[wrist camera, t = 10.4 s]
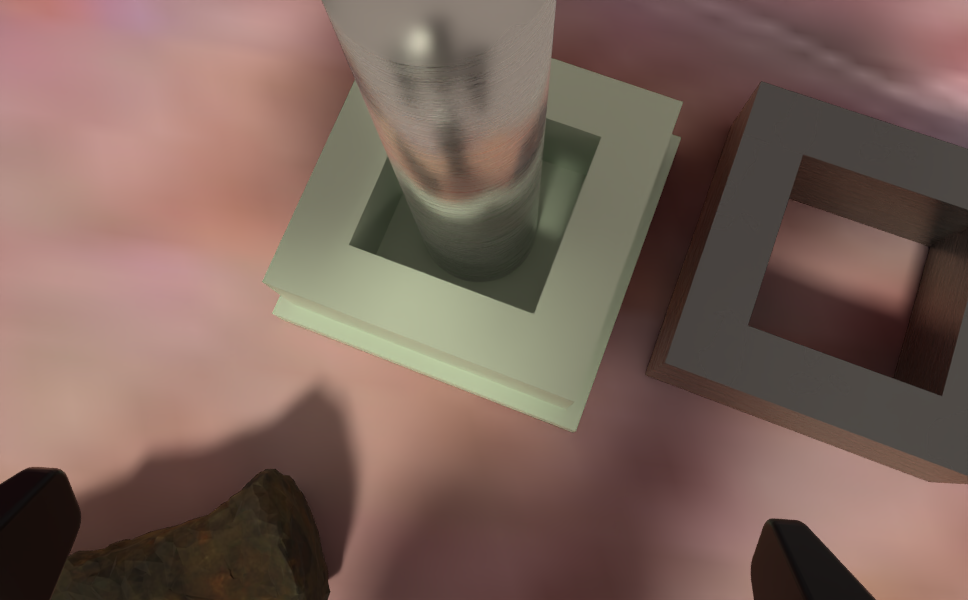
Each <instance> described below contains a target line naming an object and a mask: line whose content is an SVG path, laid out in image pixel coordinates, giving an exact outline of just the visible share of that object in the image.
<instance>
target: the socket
mask: <svg viewBox="0 0 968 600" xmlns="http://www.w3.org/2000/svg"><path fill="white" fill-rule="evenodd" d="M789 198H790V199H793V200H796V201H799V202H801V203H804V204H807V205H810V206H813V207H816V208H819V209H822V210H825V211H828V212H831V213H834V214H836V215H839V216H842V217H845V218H848V219H851V220H854V221H857V222H860V223H863V224H866V225H868V226H871V227H874V228H877V229H880V230H883V231H886V232H889V233H892V234H895V235H898V236H900V237H903V238H906V239H909V240H912V241H915V242H918V243H921V244H924V245H927V246H930V250H929V253H928V257H927V261H926V264H925V268H924V271H923V275H922V278H921V282H920V286H919V289H918V293H917V296H916V300H915V304H914V307H913V311H912V314H911V318H910V321H909V325H908V329H907V332H906V336H905V339H904V343H903V346H902V350H901V354H900V357H899V361H898V364H897V368H896V372H895V375H894V379H893V378H890V377H888V376H885V375H882V374H879V373H877V372H874V371H871V370H868V369H866V368H863V367H860V366H857V365H855V364H852V363H849V362H846V361H844V360H841V359H838V358H835V357H833V356H830V355H827V354H824V353H822V352H819V351H816V350H813V349H811V348H808V347H805V346H802V345H800V344H797V343H794V342H791V341H789V340H786V339H783V338H780V337H778V336H775V335H772V334H769V333H767V332H764V331H761V330H758V329H756V328H753V327H750V326H748V323H749V320H750V317H751V314H752V311H753V308H754V305H755V302H756V299H757V296H758V293H759V289H760V286H761V283H762V280H763V277H764V274H765V271H766V268H767V265H768V262H769V258H770V255H771V252H772V249H773V246H774V243H775V240H776V237H777V234H778V231H779V227H780V224H781V221H782V218H783V215H784V212H785V209H786V206H787V203H788V200H789ZM645 375H647V376H649V377H652V378H655V379H657V380H660V381H663V382H665V383H668V384H671V385H673V386H676V387H679V388H681V389H684V390H687V391H689V392H692V393H695V394H697V395H700V396H703V397H705V398H708V399H710V400H713V401H716V402H718V403H721V404H724V405H726V406H729V407H732V408H734V409H737V410H740V411H742V412H745V413H748V414H750V415H753V416H756V417H758V418H761V419H764V420H766V421H769V422H772V423H774V424H777V425H780V426H782V427H785V428H787V429H790V430H793V431H795V432H798V433H801V434H803V435H806V436H809V437H811V438H814V439H817V440H819V441H822V442H825V443H827V444H830V445H833V446H835V447H838V448H841V449H843V450H846V451H849V452H851V453H854V454H857V455H859V456H862V457H864V458H867V459H870V460H872V461H875V462H878V463H880V464H883V465H886V466H888V467H891V468H894V469H896V470H899V471H902V472H904V473H907V474H910V475H912V476H915V477H918V478H920V479H923V480H926V481H928V482H938V483H956V484H968V149H966V148H963V147H960V146H957V145H954V144H951V143H948V142H945V141H942V140H939V139H936V138H933V137H930V136H927V135H923V134H920V133H917V132H914V131H911V130H908V129H905V128H902V127H899V126H896V125H893V124H890V123H887V122H884V121H881V120H878V119H875V118H872V117H869V116H866V115H863V114H859V113H856V112H853V111H850V110H847V109H844V108H841V107H838V106H835V105H832V104H829V103H826V102H823V101H820V100H817V99H814V98H811V97H808V96H805V95H802V94H798V93H795V92H792V91H789V90H786V89H783V88H780V87H777V86H774V85H771V84H768V83H765V82H762V81H761V82H760V84H759V85H758V87H757V88H756V90H755V91H754V93H753V94H752V96H751V97H750V99H749V100H748V101H747V103H746V104H745V106H744V107H743V109H742V110H741V112H740V113H739V115H738V116H737V118H736V119H735V121H734V122H733V124H732V125H731V128H730V131H729V134H728V136H727V139H726V142H725V145H724V148H723V151H722V154H721V157H720V160H719V162H718V165H717V168H716V171H715V174H714V177H713V180H712V183H711V186H710V188H709V191H708V194H707V197H706V200H705V203H704V206H703V209H702V212H701V214H700V217H699V220H698V223H697V226H696V229H695V232H694V235H693V238H692V240H691V243H690V246H689V249H688V252H687V255H686V258H685V261H684V264H683V266H682V269H681V272H680V275H679V278H678V281H677V284H676V287H675V290H674V292H673V295H672V298H671V301H670V304H669V307H668V310H667V313H666V316H665V319H664V321H663V324H662V327H661V330H660V333H659V336H658V339H657V342H656V345H655V347H654V350H653V353H652V356H651V359H650V362H649V365H648V368H647V371H646V373H645Z"/></svg>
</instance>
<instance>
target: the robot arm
mask: <svg viewBox="0 0 968 600" xmlns="http://www.w3.org/2000/svg"><path fill="white" fill-rule="evenodd" d="M80 523H81V511H80V508H79V505H78V503H77V500H76V498H75V495H74V492H73V490H72V487H71V485H70V482H69V480H68V477H67V475H66V473H64V472H63V471H62V470H61V469H57V468H45V467H30V468H27V469H24V470H23V471H21V472H19V473H17V474H16V475H14V476H13V477H11V478H9V479H8V480H6V481H5V482H3V483H1V484H0V600H50V599H51V597H52V594H53V592H54V589H55V587H56V585H57V582H58V580H59V577H60V575H61V572H62V570H63V568H64V565H65V563H66V560H67V558H68V555H69V553H70V550H71V548H72V546H73V543H74V541H75V538H76V536H77V533H78V531H79V528H80ZM751 582H752V589H753V596H754V600H876V599H875V598H874V597H873V596H872V595H871V594H870V593H869V592H868V591H867V590H866V588H865V587H864V586H863V585H862V584H861V583H860V582H859V581H858V580H857V579H856V578H855V577H854V576H853V575H852V574H851V572H850V571H849V570H848V569H847V568H846V567H845V566H844V565H843V564H842V563H841V562H840V561H839V560H838V559H837V557H836V556H835V555H834V554H833V553H832V552H831V551H830V550H829V549H828V548H827V547H826V546H825V545H824V544H823V543H822V541H821V540H820V539H819V538H818V537H817V536H816V535H815V534H814V533H813V532H812V531H811V530H810V529H809V528H808V527H807V526H806V525H805V524H804V523H802V522H800V521H797V520H787V519H769V520H767V521H766V523H765V524H764V526H763V529H762V532H761V535H760V538H759V541H758V544H757V547H756V550H755V552H754V555H753V558H752V563H751Z"/></svg>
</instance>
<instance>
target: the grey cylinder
mask: <svg viewBox="0 0 968 600" xmlns="http://www.w3.org/2000/svg"><path fill="white" fill-rule="evenodd" d="M322 2H323V4H324V7H325V9H326V12H327V14H328V16H329V19H330V21H331V23H332V26H333V28H334V30H335V33H336V35H337V37H338V40H339V42H340V45H341V47H342V49H343V52H344V54H345V56H346V59H347V61H348V63H349V66H350V68H351V71H352V73H353V75H354V78H355V80H356V82H357V85H358V87H359V89H360V92H361V94H362V97H363V99H364V101H365V104H366V106H367V108H368V111H369V113H370V115H371V118H372V120H373V123H374V125H375V127H376V130H377V132H378V134H379V137H380V139H381V141H382V144H383V146H384V149H385V151H386V153H387V156H388V158H389V160H390V163H391V165H392V167H393V170H394V172H395V175H396V177H397V179H398V182H399V184H400V186H401V189H402V191H403V193H404V196H405V198H406V201H407V203H408V205H409V208H410V210H411V212H412V215H413V217H414V219H415V222H416V224H417V227H418V229H419V231H420V234H421V236H422V238H423V241H424V243H425V245H426V248H427V250H428V252H429V254H430V256H431V257H432V259H433V260H434V261H435V262H436V264H437V265H438V266H439V267H440V268H441V269H443V270H444V271H445V272H447V273H448V274H450V275H452V276H454V277H456V278H459V279H462V280H465V281H470V282H487V281H493V280H496V279H499V278H502V277H504V276H506V275H508V274H510V273H511V272H513V271H514V270H515V269H517V268H518V267H519V266H520V265H521V264H522V263H523V262H524V261H525V259H526V258H527V256H528V255H529V253H530V251H531V249H532V247H533V244H534V241H535V237H536V229H537V217H538V206H539V194H540V183H541V171H542V160H543V148H544V136H545V125H546V113H547V102H548V90H549V79H550V67H551V55H552V44H553V32H554V21H555V9H556V0H322Z"/></svg>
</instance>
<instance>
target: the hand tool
mask: <svg viewBox="0 0 968 600" xmlns="http://www.w3.org/2000/svg"><path fill="white" fill-rule="evenodd" d="M329 594H330V589H329V585H328V569H327V566H326V563H325V560H324V556H323V552H322V548H321V543H320V538H319V533H318V530H317V527H316V524H315V521H314V518H313V515H312V513H311V511H310V509H309V506H308V504H307V502H306V500H305V498H304V496H303V494H302V492H300V490H299V489H298V487H297V485H296V484H295V482H294V480H293V479H292V478H291V477H290V476H287V475H282V474H281V473H280V472H278V471H277V470H276V469H265V470H264V471H263V472H260V473H259V474H257V475H256V476H255V477H254V478H253V479H252V480H251V481H250V482H249V483H248V484H247V485H246V486H245V487H244V488H243V489H242V490H241V491H240V492H239V493H237V494H235V495H234V496H232V497H231V498H230V499H229V500H228V501H227V502H225V503H223V504H222V505H220V506H219V507H218V508H217V509H215V510H214V511H213V512H211V513H210V514H209V515H206V516H203V517H199V518H196V519H193V520H190V521H187V522H185V523H183V524H181V525H177V526H173V527H167V528H165V529H161V530H156V531H152V532H149V533H146V534H144V535H142V536H139V537H137V538H135V539H132V540H128V539H125V540H122V541H119V542H116V543H113V544H111V545H109V546H108V547H107V548H105V549H100V550H94V551H78V552H76V553H74V554H72V555H70V556H68V558H67V560H66V563H65V565H64V568H63V570H62V572H61V575H60V577H59V580H58V582H57V585H56V587H55V589H54V592H53V594H52V597H51V599H50V600H328V597H329Z"/></svg>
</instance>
